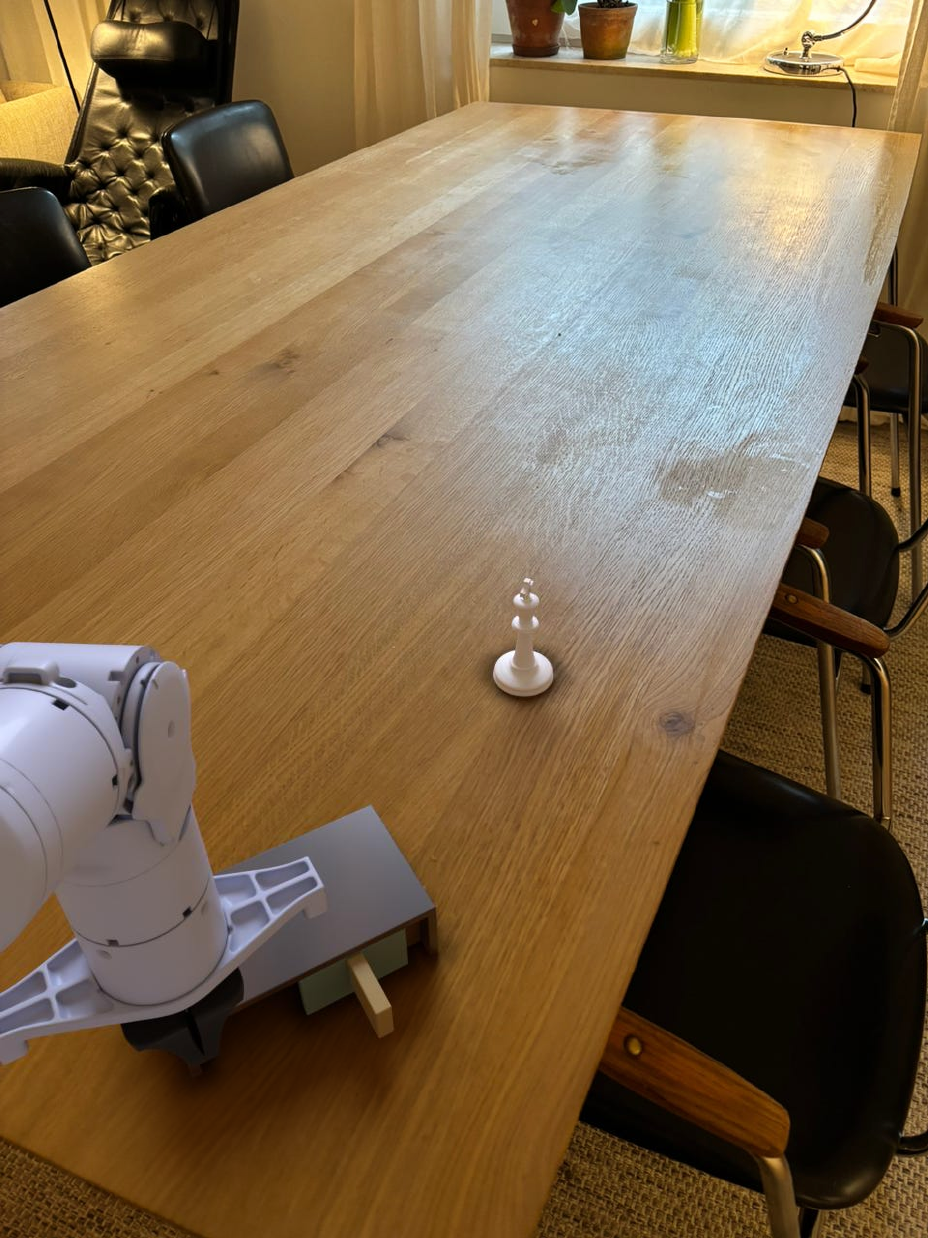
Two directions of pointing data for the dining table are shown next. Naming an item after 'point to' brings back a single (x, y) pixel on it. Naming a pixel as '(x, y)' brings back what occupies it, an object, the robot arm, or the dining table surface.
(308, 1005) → the sliding door
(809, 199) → the dining table surface
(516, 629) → the chess piece
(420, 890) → the cabinet
